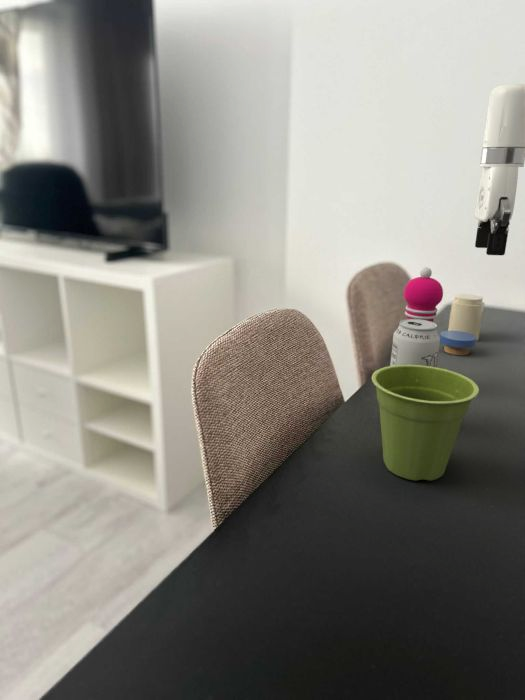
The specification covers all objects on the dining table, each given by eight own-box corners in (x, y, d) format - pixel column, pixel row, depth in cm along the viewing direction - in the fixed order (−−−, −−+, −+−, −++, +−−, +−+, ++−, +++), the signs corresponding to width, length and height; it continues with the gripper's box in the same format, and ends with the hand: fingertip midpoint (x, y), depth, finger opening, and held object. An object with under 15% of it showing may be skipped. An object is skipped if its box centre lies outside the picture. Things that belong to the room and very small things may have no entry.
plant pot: (463, 452, 66) (477, 371, 63) (464, 504, 56) (481, 410, 52) (371, 435, 70) (379, 358, 66) (355, 481, 59) (364, 392, 56)
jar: (471, 332, 117) (478, 293, 114) (483, 341, 111) (490, 300, 108) (443, 332, 117) (448, 292, 114) (453, 341, 111) (459, 299, 108)
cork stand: (463, 347, 107) (465, 334, 106) (472, 355, 102) (474, 341, 101) (440, 347, 107) (442, 333, 106) (448, 355, 102) (450, 340, 101)
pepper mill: (381, 383, 87) (394, 266, 81) (404, 373, 92) (417, 262, 86) (420, 396, 83) (436, 273, 76) (441, 385, 87) (458, 268, 81)
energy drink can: (416, 439, 69) (430, 333, 64) (376, 425, 73) (386, 323, 68) (434, 424, 74) (449, 323, 69) (395, 411, 77) (407, 315, 72)
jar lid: (435, 343, 103) (436, 336, 102) (442, 335, 108) (443, 328, 108) (472, 350, 99) (473, 342, 99) (477, 341, 105) (478, 334, 104)
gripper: (471, 159, 104) (460, 244, 110) (492, 157, 88) (478, 257, 94) (510, 159, 103) (497, 245, 109) (539, 157, 87) (522, 258, 93)
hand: (488, 251), depth 101 cm, fingers open, 9 cm apart
